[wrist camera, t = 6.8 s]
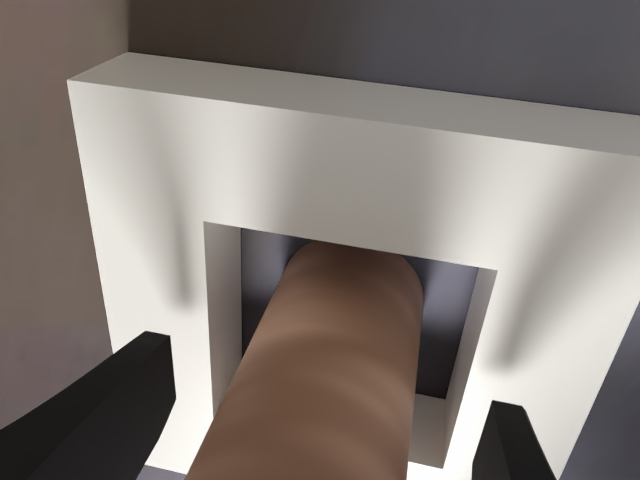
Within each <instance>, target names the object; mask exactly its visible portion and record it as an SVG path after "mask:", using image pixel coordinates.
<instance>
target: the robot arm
mask: <svg viewBox="0 0 640 480" xmlns="http://www.w3.org/2000/svg"><path fill="white" fill-rule="evenodd" d="M175 401H176V389H175V379H174V368H173V358H172V348H171V338H170V335H165V334H160V333H155V332H150V331H144V332H143V333H141V334H140V335H139V336H137V337H136V338H134V339H133V340H132V341H130V342H129V343H127V344H126V345H125V346H123V347H122V348H121V349H119V350H118V351H117V352H115V353H114V354H113V355H111V356H110V357H109V358H107V359H106V360H104V361H103V362H102V363H100V364H99V365H98V366H96V367H95V368H94V369H92V370H91V371H89V372H88V373H87V374H85V375H84V376H82V377H81V378H80V379H78V380H77V381H75V382H74V383H72V384H71V385H70V386H68V387H67V388H65V389H64V390H62V391H61V392H60V393H58V394H57V395H55V396H54V397H52V398H50V399H49V400H47V401H46V402H44V403H43V404H41V405H40V406H38V407H37V408H35V409H34V410H32V411H30V412H29V413H27V414H26V415H24V416H23V417H21V418H19V419H18V420H16V421H15V422H13V423H11V424H10V425H8V426H6V427H4V428H3V429H1V430H0V480H136V478H137V476H138V475H139V473H140V471H141V470H142V468H143V466H144V464H145V463H146V461H147V459H148V458H149V456H150V454H151V452H152V451H153V449H154V447H155V445H156V444H157V442H158V440H159V438H160V436H161V434H162V431H163V429H164V427H165V425H166V423H167V420H168V418H169V415H170V413H171V411H172V408H173V406H174V404H175ZM471 480H557V479H556V477H555V475H554V473H553V471H552V469H551V467H550V465H549V463H548V461H547V459H546V456H545V454H544V452H543V450H542V448H541V446H540V443H539V441H538V439H537V436H536V434H535V432H534V429H533V427H532V425H531V422H530V420H529V417H528V415H527V412H526V410H525V409H524V408H523V406H521V405H516V404H511V403H506V402H501V401H496V400H492V402H491V405H490V408H489V412H488V415H487V418H486V421H485V424H484V427H483V431H482V434H481V437H480V440H479V443H478V446H477V450H476V453H475V456H474V459H473V462H472V479H471Z"/></svg>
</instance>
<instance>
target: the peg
mask: <svg viewBox="0 0 640 480" xmlns="http://www.w3.org/2000/svg"><path fill="white" fill-rule="evenodd" d="M423 305H424V295H423V289H422V285H421V283H420V280H419V278H418V276H417V274H416V272H415V270H414V269H413V267H412V266H411V265H410V263H409V262H408V261H407V260H406V259H405V258H404V257H403V256H402V255H400V254H397V253H391V252H385V251H379V250H373V249H367V248H361V247H355V246H349V245H343V244H337V243H331V242H325V241H319V240H313V241H311V242H310V243H308V244H306V245H305V246H303V247H302V248H300V249H299V250H298V251H297V252H296V253H295V254H294V255H293V257H292V258H291V259H290V261H289V262H288V264H287V266H286V268H285V270H284V273H283V275H282V277H281V279H280V281H279V283H278V285H277V287H276V289H275V291H274V293H273V296H272V298H271V300H270V302H269V304H268V306H267V308H266V310H265V312H264V314H263V316H262V318H261V321H260V323H259V325H258V327H257V329H256V331H255V333H254V335H253V337H252V339H251V341H250V344H249V346H248V348H247V350H246V352H245V354H244V356H243V358H242V360H241V362H240V364H239V367H238V369H237V371H236V373H235V375H234V377H233V379H232V381H231V383H230V385H229V387H228V389H227V392H226V394H225V396H224V398H223V400H222V402H221V404H220V406H219V408H218V410H217V412H216V415H215V417H214V419H213V421H212V423H211V425H210V427H209V429H208V431H207V433H206V435H205V438H204V440H203V442H202V444H201V446H200V448H199V450H198V452H197V454H196V456H195V458H194V460H193V463H192V465H191V467H190V469H189V471H188V473H187V475H186V477H185V479H184V480H407V472H408V461H409V451H410V440H411V430H412V419H413V409H414V399H415V388H416V378H417V367H418V357H419V346H420V336H421V325H422V315H423Z"/></svg>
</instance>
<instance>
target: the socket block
mask: <svg viewBox="0 0 640 480" xmlns="http://www.w3.org/2000/svg"><path fill="white" fill-rule="evenodd" d="M67 85H68V91H69V97H70V103H71V108H72V114H73V120H74V126H75V132H76V138H77V144H78V150H79V155H80V161H81V167H82V173H83V179H84V185H85V191H86V197H87V202H88V208H89V214H90V220H91V226H92V232H93V238H94V244H95V249H96V255H97V261H98V267H99V273H100V279H101V285H102V290H103V296H104V302H105V308H106V314H107V320H108V326H109V332H110V337H111V343H112V349H113V354H114V353H115V352H117V351H118V350H119V349H121V348H122V347H123V346H125V345H126V344H127V343H129V342H130V341H132V340H133V339H134V338H136V337H137V336H139V335H140V334H141V333H143V332H144V331H150V332H155V333H160V334H165V335H170V338H171V348H172V358H173V368H174V379H175V389H176V401H175V404H174V406H173V408H172V411H171V413H170V415H169V418H168V420H167V423H166V425H165V427H164V429H163V431H162V434H161V436H160V438H159V440H158V442H157V444H156V445H155V447H154V449H153V451H152V452H151V454H150V456H149V458H148V459H147V461H146V463H145V465H150V466H154V467H158V468H162V469H167V470H171V471H175V472H179V473H183V474H187V473H188V471H189V469H190V467H191V465H192V463H193V460H194V458H195V456H196V454H197V452H198V450H199V448H200V446H201V444H202V442H203V440H204V438H205V435H206V433H207V431H208V429H209V427H210V425H211V423H212V421H213V419H214V417H215V415H216V412H217V410H218V408H219V406H220V404H221V402H222V400H223V398H224V396H225V394H226V392H227V389H228V387H229V385H230V383H231V381H232V379H233V377H234V375H235V373H236V371H237V369H238V367H239V364H240V362H241V360H242V308H241V228H247V229H253V230H259V231H265V232H271V233H277V234H283V235H289V236H295V237H301V238H307V239H313V240H319V241H325V242H331V243H337V244H343V245H349V246H355V247H361V248H367V249H373V250H379V251H385V252H391V253H397V254H403V255H409V256H415V257H421V258H427V259H432V260H438V261H444V262H450V263H456V264H462V265H468V266H474V267H479V270H478V273H477V277H476V281H475V285H474V289H473V293H472V297H471V301H470V305H469V309H468V313H467V317H466V321H465V325H464V328H463V332H462V336H461V340H460V344H459V348H458V352H457V356H456V360H455V364H454V368H453V372H452V376H451V380H450V383H449V387H448V391H447V395H446V399H441V398H436V397H431V396H426V395H421V394H416V393H415V399H414V409H413V419H412V430H411V440H410V451H409V461H408V472H407V480H471V479H472V462H473V459H474V456H475V453H476V450H477V446H478V443H479V440H480V437H481V434H482V431H483V427H484V424H485V421H486V418H487V415H488V412H489V408H490V405H491V402H492V400H496V401H501V402H506V403H511V404H516V405H521V406H523V408H524V409H525V410H526V412H527V415H528V417H529V420H530V422H531V425H532V427H533V429H534V432H535V434H536V436H537V439H538V441H539V443H540V446H541V448H542V450H543V452H544V454H545V456H546V459H547V461H548V463H549V465H550V467H551V469H552V471H553V473H554V475H555V477H556V479H557V480H559V478H560V476H561V474H562V472H563V470H564V467H565V465H566V463H567V461H568V458H569V456H570V454H571V452H572V450H573V447H574V445H575V443H576V441H577V438H578V436H579V434H580V432H581V430H582V427H583V425H584V423H585V421H586V419H587V416H588V414H589V412H590V410H591V407H592V405H593V403H594V401H595V399H596V396H597V394H598V392H599V390H600V387H601V385H602V383H603V381H604V379H605V376H606V374H607V372H608V370H609V367H610V365H611V363H612V361H613V359H614V356H615V354H616V352H617V350H618V347H619V345H620V343H621V341H622V339H623V336H624V334H625V332H626V330H627V327H628V325H629V323H630V321H631V319H632V316H633V314H634V312H635V310H636V308H637V305H638V303H639V301H640V116H639V115H631V114H623V113H615V112H607V111H599V110H591V109H583V108H575V107H567V106H559V105H551V104H543V103H534V102H526V101H518V100H510V99H502V98H494V97H486V96H478V95H470V94H462V93H454V92H446V91H438V90H430V89H422V88H414V87H406V86H398V85H390V84H381V83H373V82H365V81H357V80H349V79H341V78H333V77H325V76H317V75H309V74H301V73H293V72H285V71H277V70H269V69H261V68H253V67H245V66H237V65H228V64H220V63H212V62H204V61H196V60H188V59H180V58H172V57H164V56H156V55H148V54H140V53H132V52H126V53H124V54H122V55H120V56H117V57H115V58H113V59H111V60H109V61H107V62H104V63H102V64H100V65H98V66H96V67H94V68H91V69H89V70H87V71H85V72H83V73H81V74H78V75H76V76H74V77H72V78H70V79H68V80H67Z"/></svg>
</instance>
